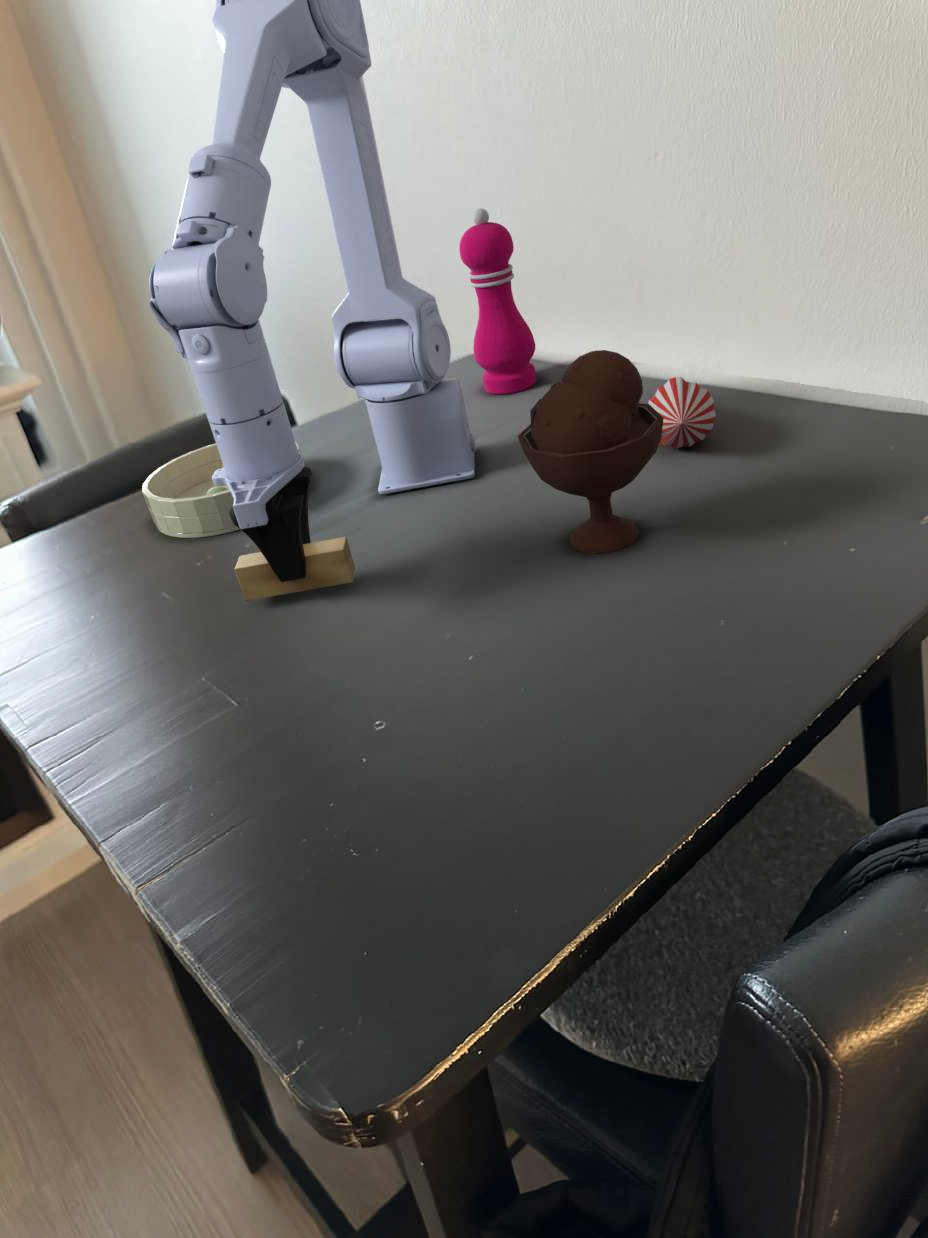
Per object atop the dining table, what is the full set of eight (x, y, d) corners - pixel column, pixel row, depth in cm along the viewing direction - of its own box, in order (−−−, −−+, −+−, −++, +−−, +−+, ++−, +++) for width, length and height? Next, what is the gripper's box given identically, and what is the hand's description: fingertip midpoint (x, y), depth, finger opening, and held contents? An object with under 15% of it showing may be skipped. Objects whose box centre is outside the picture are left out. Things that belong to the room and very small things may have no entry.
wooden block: (355, 568, 84) (346, 536, 83) (352, 582, 82) (343, 549, 81) (250, 587, 85) (239, 555, 84) (245, 601, 83) (233, 568, 82)
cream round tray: (318, 458, 112) (308, 424, 110) (297, 520, 98) (285, 482, 96) (177, 485, 114) (165, 451, 112) (136, 549, 100) (122, 512, 98)
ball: (239, 505, 104) (231, 479, 102) (234, 516, 101) (225, 490, 100) (213, 509, 104) (204, 484, 102) (207, 521, 101) (197, 495, 100)
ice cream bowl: (592, 499, 89) (568, 328, 82) (701, 521, 82) (684, 336, 74) (510, 552, 84) (476, 374, 76) (618, 581, 76) (592, 387, 69)
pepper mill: (476, 399, 119) (441, 220, 109) (485, 379, 125) (452, 208, 115) (537, 391, 118) (507, 208, 108) (544, 371, 124) (515, 196, 114)
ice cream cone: (690, 440, 108) (698, 472, 89) (635, 414, 108) (632, 440, 89) (719, 385, 105) (734, 406, 87) (663, 358, 106) (666, 374, 87)
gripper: (215, 390, 83) (263, 538, 90) (170, 455, 71) (231, 622, 77) (299, 373, 82) (341, 524, 89) (269, 436, 70) (321, 607, 77)
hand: (296, 569), depth 83 cm, fingers closed on wooden block, 2 cm apart
